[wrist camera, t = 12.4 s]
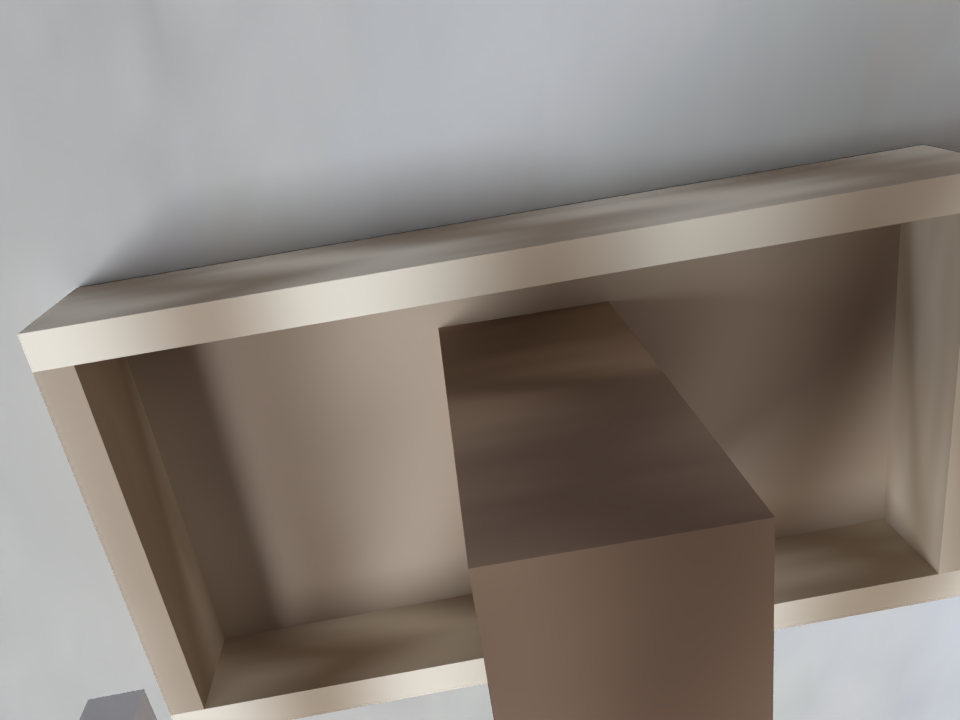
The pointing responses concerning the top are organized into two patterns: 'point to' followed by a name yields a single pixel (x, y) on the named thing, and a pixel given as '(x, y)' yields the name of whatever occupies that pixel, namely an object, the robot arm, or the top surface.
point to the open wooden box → (427, 432)
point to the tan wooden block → (604, 529)
